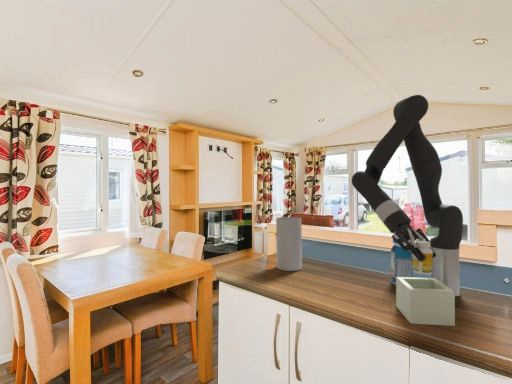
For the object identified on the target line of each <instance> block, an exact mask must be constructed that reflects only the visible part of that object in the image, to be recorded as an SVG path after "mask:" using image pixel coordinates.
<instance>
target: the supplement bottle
mask: <svg viewBox="0 0 512 384" xmlns="http://www.w3.org/2000/svg"><path fill="white" fill-rule="evenodd" d="M415 241H416V243H415V244H416V246H417V248H419V249H420V251H421V252H422V253H423V254H424V255H425V256H426V259H425V260H423V261H421V262H420V261H419V260H418V259H417V258H416V257H415V255H414V254H413V255H412V256H413V273H415V274H419V275H429V276H430V274H432V268H433V251H432V250H431V249H430V248H429V247H430V242H428V241H417V240H415Z"/></svg>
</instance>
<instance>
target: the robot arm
mask: <svg viewBox="0 0 512 384" xmlns="http://www.w3.org/2000/svg"><path fill="white" fill-rule="evenodd" d="M428 110H429V101H428V99H427V98H426V97H425V96H423V95H422V94H412V95H409V96H407V97H405V98H403V99H401V100H399V101H398V102H396V104H395V105H394V108H393V111H392V112H393V118H394V120H395V122H394V123H393V125H392V127H391V128H390V129H389V130H388V132H387V133H385V135H383V137H382V138H381V139H380V140H379V141H378V142H377V144H376V145H375V146H374V148H373V150H372V151H371V153H369V155H368V157H367V159H366V161H365V165H366V167H365V170H360V171H356V172H355V173H353V175H352V176H351V184H352V186H353V188H354V189H355V190H356V191H357V192H358V193H359V194H360V195H361V196H362V197H363V198H364V199H365V200H366V202H367V203H368V205H369V207H370V208H371V209H372V210H373V211H374V212H375V214H376V215H377V217H378V218H379V220H380V221H381V222H382V224H383V225H384V226H385V227H386V228H387V230H388V231H389V232H390V233H391V234H392V235H391V239H392V240H393V239H394V240H395V241H396V242H397V243H398V244H399V245H400V246H401V247H402V248H403V249H404V250H405V251H407V250H409V251H410V252H412V253H413V254H414V255H415V257H416V258H417V259H418V260H419V261H420V262H421V261H423V260H425V259H426V256H425V255H424V254H423V253H422V252H421V251H420V249H419V248H417V246H416V244H415V243H416V241H428V242H430V247H429V248H430V249H431V250H432V251H433V268H432V274H429V278H435V279H437V280H438V281H440V282H441V283H443V284H444V285H446V286H447V287H449V288H450V289H452V290H453V291H455V298H456V297H459V296H460V284H461V283H460V246H461V245H460V244H461V242H462V239H463V228H464V227H463V226H464V217H463V212H462V211H461V209H460V208H459V207H458V206H456V205H453V204H443V201H442V199H441V196H440V192H439V187H440V182H441V178H442V173H443V167H442V163H441V160H440V157H439V154H438V151H437V150H436V148H435V146H433V144H432V143H431V141H429V139H428V138H427V137H426V135H425V134H424V132H423V130H422V126H421V123H420V122H421V120H422V119H423V118H424V117H425V116H426V114H427V112H428ZM403 142H404V146H405V148H406V151H407V152H406V153H407V155H408V158H409V162H410V166H411V168H412V172H413V174H414V177H415V180H416V184H417V187H418V191H419V195H420V199H421V203H422V204H421V205H422V210H423V215H424V219H425V221H426V223H427V224H428V225H429V226H430V227H432V228H435V229H438V235H437V236H435V237H432V238H430V240H429V238H428V237H427V235H426V234H425V232H423V230H422V229H421V228H420V227H418V228H417V229H415V228H414V227H413V226H412V225H411V223H412V219H411V218H410V217H409V215H408V214H407V213H406V212H405V211H404V210H403V209H402V208H401V207H400V205H398V203H397V202H395V201H394V200H393V198H391V197H390V196H389V194H388V193H387V192H386V191H384V189H382V188H381V187H380V186H379V182H380V180H381V178H382V175H383V172H384V170H385V168H386V167H387V165H388V164H389V162H390V161H391V159H392V158H393V156H394V155H395V153H396V151H397V150H398V149H399V147H400V146H401V145H402V144H403ZM403 244H404V245H405V246H404V245H403Z"/></svg>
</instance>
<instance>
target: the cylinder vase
mask: <svg viewBox="0 0 512 384" xmlns="http://www.w3.org/2000/svg"><path fill="white" fill-rule="evenodd" d="M275 222H276V223H275V225H276V227H275V228H276V230H275V231H276V235H275V236H276V268H277V269H278V270H279V271H282V270H283V272H297V271H300V270H302V267H303V256H302V255H303V249H302V248H303V245H302V243H303V241H302V236H303V235H302V234H303V233H302V232H303V231H302V218H301V217H297V216H281V217H277V218H276V219H275Z"/></svg>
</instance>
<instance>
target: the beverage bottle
mask: <svg viewBox="0 0 512 384" xmlns="http://www.w3.org/2000/svg"><path fill="white" fill-rule="evenodd" d="M392 243H393V244H394V245H393V246H392V247H391V249H390V253H391V255H390V262H391V264H390V265H391V267H390V268H391V269H390V270H391V271H390V272H391V274H390V275H391V277H390V282H391V283H392V284H394V285H395V286H396V277H414V271H413V253H412V252H410V251H409V250H407V251H405V250H404V249H403V248H402V247H401V246H400V245H399V244H398V243H397V242H396V241H395V240H394V239H393V238H392ZM403 245H404V244H403ZM404 246H405V245H404Z"/></svg>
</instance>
